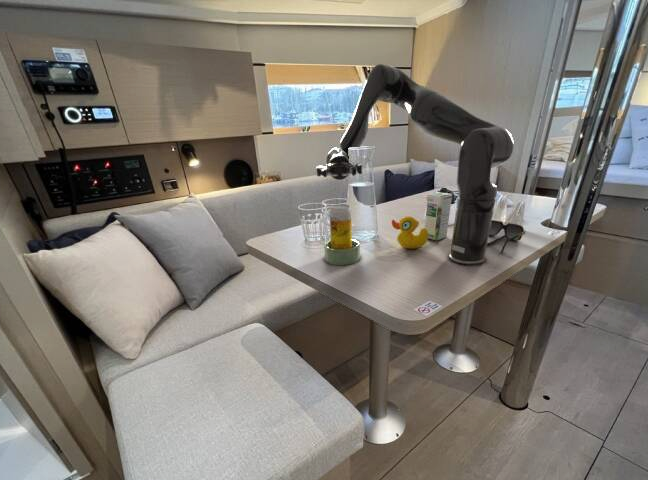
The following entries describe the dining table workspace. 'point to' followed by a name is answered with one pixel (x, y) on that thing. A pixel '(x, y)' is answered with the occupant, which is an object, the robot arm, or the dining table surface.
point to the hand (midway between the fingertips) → (339, 172)
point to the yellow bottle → (340, 227)
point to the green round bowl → (342, 254)
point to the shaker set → (501, 211)
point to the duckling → (410, 233)
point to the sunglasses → (507, 230)
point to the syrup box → (437, 215)
